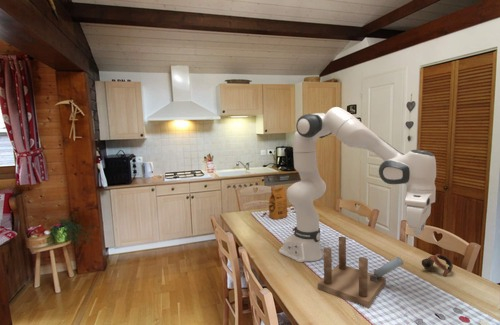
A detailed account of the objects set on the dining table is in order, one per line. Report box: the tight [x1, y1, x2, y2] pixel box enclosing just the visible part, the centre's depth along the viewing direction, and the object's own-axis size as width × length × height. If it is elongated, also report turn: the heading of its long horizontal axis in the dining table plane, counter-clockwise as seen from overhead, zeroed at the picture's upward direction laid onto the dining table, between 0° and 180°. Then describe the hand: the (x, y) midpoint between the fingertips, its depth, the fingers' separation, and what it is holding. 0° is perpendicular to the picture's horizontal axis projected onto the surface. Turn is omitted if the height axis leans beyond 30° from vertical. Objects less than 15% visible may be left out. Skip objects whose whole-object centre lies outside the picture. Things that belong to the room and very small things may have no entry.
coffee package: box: [268, 186, 288, 221], centre depth 202 cm, size 10×12×22 cm
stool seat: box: [317, 236, 387, 309], centre depth 112 cm, size 20×20×16 cm
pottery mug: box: [421, 253, 454, 277], centre depth 121 cm, size 12×10×8 cm
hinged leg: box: [373, 256, 404, 278], centre depth 110 cm, size 3×3×12 cm
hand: (419, 233), depth 101 cm, fingers open, 5 cm apart
